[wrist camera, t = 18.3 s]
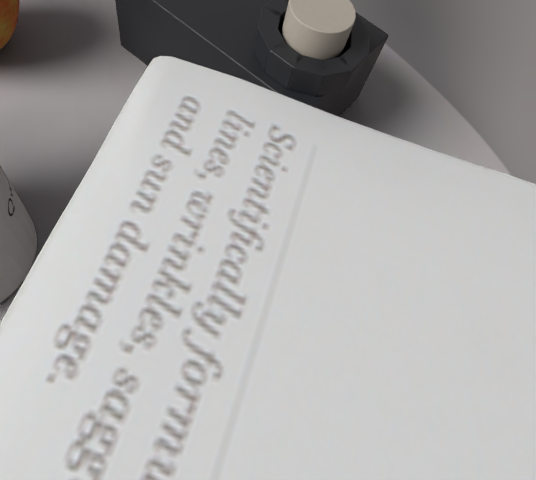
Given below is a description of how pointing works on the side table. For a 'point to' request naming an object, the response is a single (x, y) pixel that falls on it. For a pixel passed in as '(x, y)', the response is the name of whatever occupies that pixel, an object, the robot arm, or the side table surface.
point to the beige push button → (318, 26)
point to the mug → (14, 239)
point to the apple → (8, 19)
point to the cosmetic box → (273, 303)
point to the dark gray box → (250, 46)
